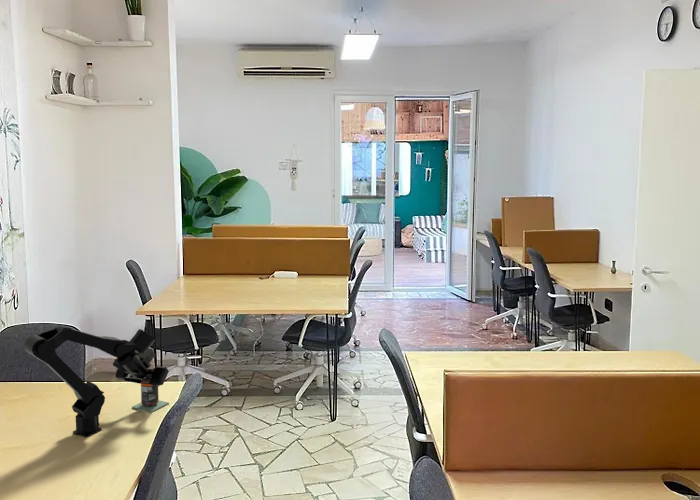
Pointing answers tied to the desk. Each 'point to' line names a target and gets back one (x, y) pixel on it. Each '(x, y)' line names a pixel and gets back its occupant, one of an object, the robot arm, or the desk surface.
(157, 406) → the mat
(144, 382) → the supplement bottle
